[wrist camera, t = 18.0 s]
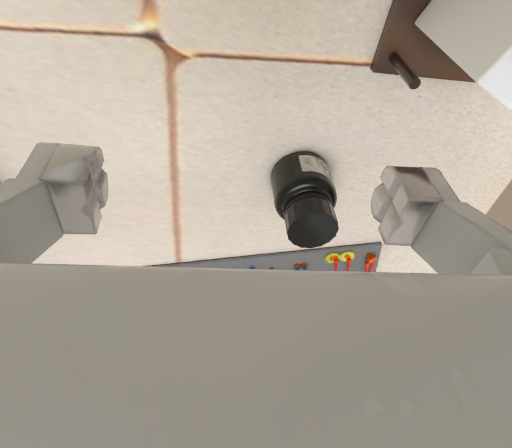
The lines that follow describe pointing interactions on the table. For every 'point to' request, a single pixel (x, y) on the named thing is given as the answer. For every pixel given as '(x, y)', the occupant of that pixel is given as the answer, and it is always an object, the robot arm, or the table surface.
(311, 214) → the ink bottle
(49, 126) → the table surface
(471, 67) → the milk carton
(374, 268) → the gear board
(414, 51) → the peg rack
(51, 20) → the table surface
